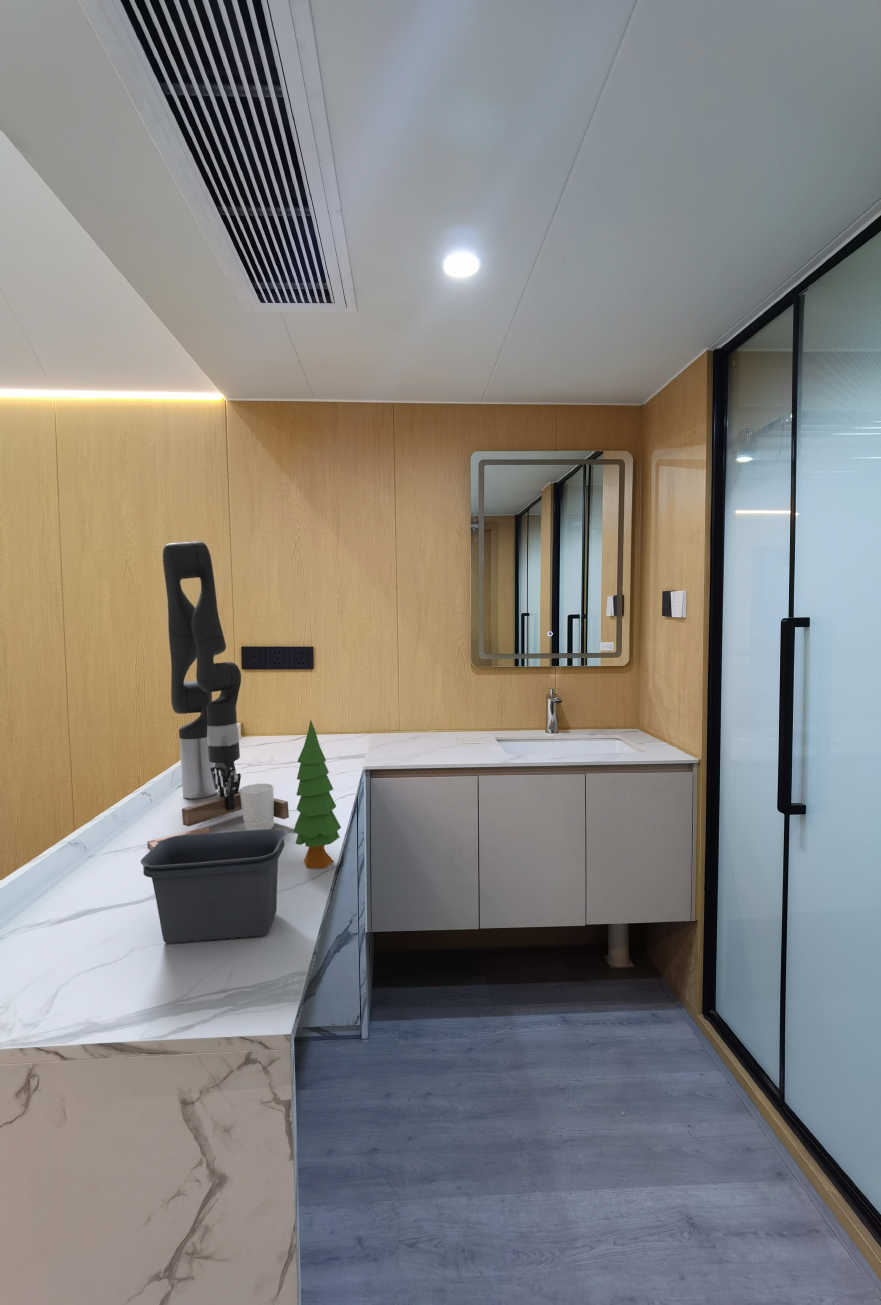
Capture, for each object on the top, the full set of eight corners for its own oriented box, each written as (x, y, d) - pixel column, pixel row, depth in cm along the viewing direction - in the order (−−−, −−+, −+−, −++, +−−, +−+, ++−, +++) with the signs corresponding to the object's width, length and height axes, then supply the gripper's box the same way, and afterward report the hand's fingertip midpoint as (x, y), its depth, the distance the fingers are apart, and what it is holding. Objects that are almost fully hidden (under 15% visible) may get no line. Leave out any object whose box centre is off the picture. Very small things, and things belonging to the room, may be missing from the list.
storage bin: (139, 955, 98) (132, 865, 97) (173, 908, 113) (168, 830, 112) (279, 945, 99) (274, 856, 98) (294, 900, 115) (290, 823, 114)
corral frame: (147, 846, 144) (147, 841, 144) (207, 831, 153) (206, 826, 153) (168, 865, 133) (168, 860, 132) (231, 848, 141) (231, 843, 141)
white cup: (282, 823, 156) (279, 783, 156) (265, 835, 149) (262, 793, 148) (253, 822, 158) (250, 782, 158) (236, 833, 151) (232, 792, 150)
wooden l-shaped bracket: (183, 824, 153) (181, 808, 153) (244, 805, 166) (242, 790, 166) (227, 839, 141) (225, 822, 141) (288, 817, 154) (287, 801, 154)
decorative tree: (325, 851, 138) (319, 714, 136) (351, 862, 131) (345, 719, 129) (286, 864, 131) (279, 721, 129) (311, 877, 124) (304, 726, 122)
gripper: (197, 740, 163) (202, 806, 164) (220, 748, 152) (224, 818, 153) (226, 735, 168) (230, 800, 169) (249, 742, 157) (253, 811, 158)
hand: (227, 808), depth 161 cm, fingers closed on wooden l-shaped bracket, 2 cm apart
